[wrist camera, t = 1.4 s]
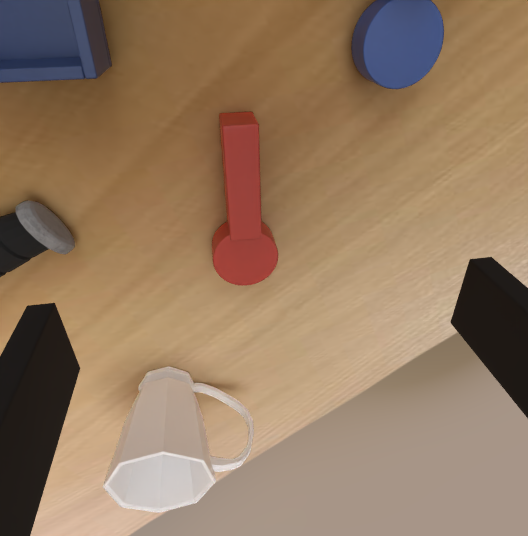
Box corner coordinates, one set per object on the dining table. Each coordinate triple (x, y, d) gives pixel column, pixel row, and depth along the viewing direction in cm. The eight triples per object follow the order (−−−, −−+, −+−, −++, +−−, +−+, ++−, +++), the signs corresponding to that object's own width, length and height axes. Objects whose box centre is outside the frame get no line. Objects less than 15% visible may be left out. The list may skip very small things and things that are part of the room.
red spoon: (198, 114, 22) (198, 127, 19) (272, 110, 22) (281, 122, 20) (214, 272, 27) (216, 296, 25) (273, 267, 28) (280, 289, 26)
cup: (120, 352, 30) (100, 454, 23) (253, 355, 32) (269, 449, 25) (121, 414, 34) (104, 517, 27) (241, 413, 36) (252, 508, 29)
